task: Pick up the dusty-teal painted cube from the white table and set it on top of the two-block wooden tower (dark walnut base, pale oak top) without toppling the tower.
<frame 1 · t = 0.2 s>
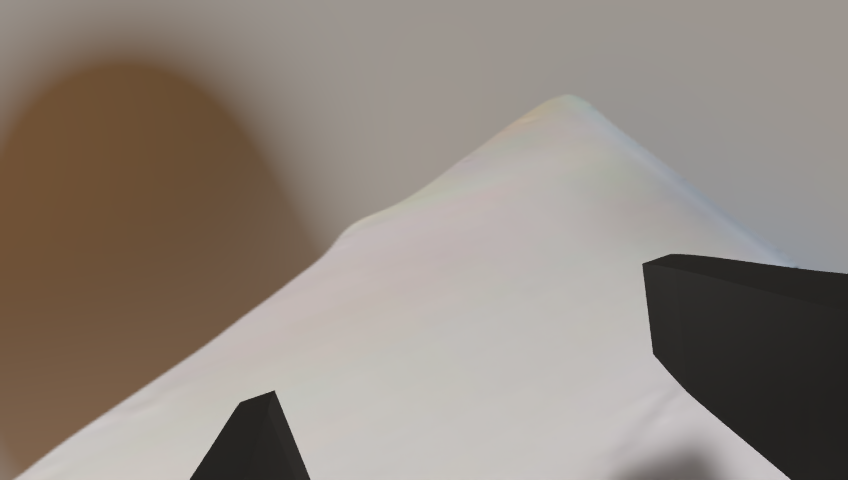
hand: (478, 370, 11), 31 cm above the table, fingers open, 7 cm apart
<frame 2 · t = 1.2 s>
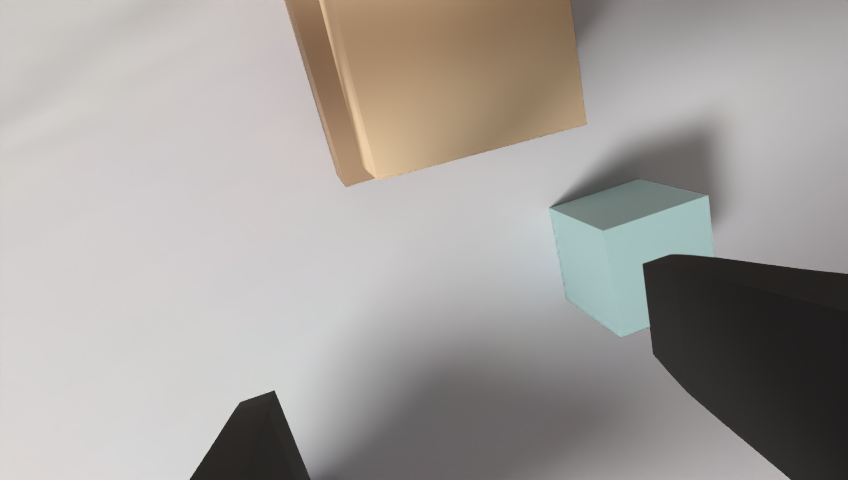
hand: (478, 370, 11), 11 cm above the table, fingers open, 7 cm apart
teal cube: (601, 239, 23), on the table
tower base: (403, 49, 20), on the table, touching tower top
tower top: (433, 43, 17), point 3 cm above the table, touching tower base
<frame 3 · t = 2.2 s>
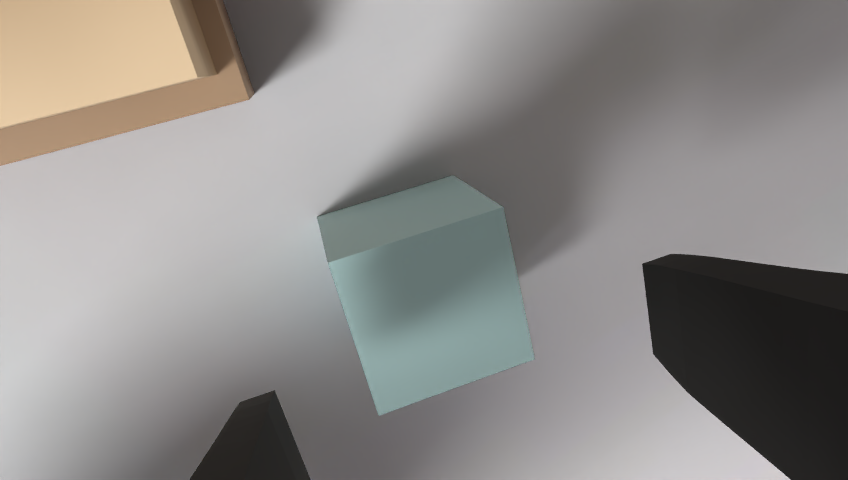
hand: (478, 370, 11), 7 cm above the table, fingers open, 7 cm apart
teal cube: (403, 259, 17), on the table
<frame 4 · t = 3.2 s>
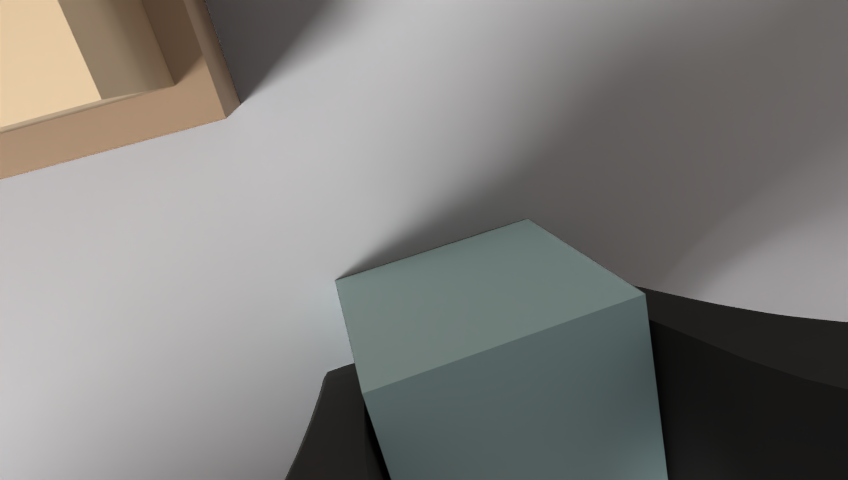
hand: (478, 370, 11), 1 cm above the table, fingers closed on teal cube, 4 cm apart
teal cube: (456, 335, 12), on the table, touching gripper
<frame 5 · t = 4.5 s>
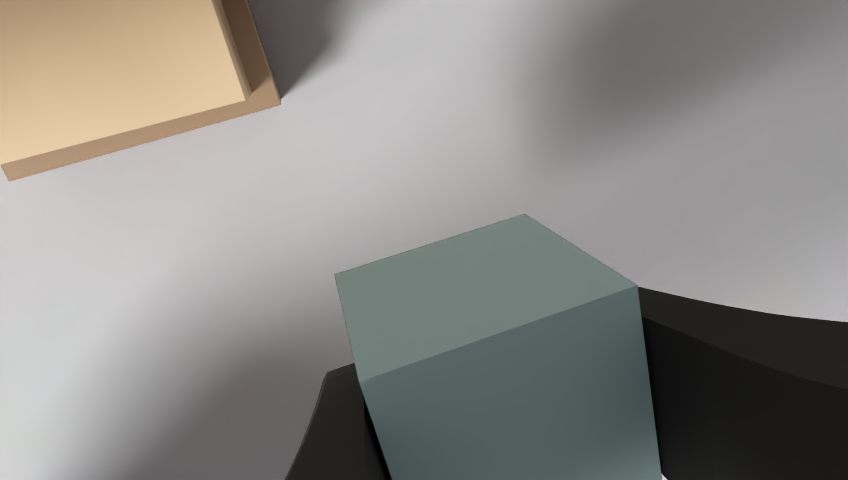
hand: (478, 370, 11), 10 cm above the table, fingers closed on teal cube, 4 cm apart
teal cube: (454, 329, 12), point 8 cm above the table, touching gripper
tower base: (121, 10, 16), on the table, touching tower top
when the fingers open (8 cm above the table, at t = 5.9 s): teal cube stays where it is, resting on tower top.
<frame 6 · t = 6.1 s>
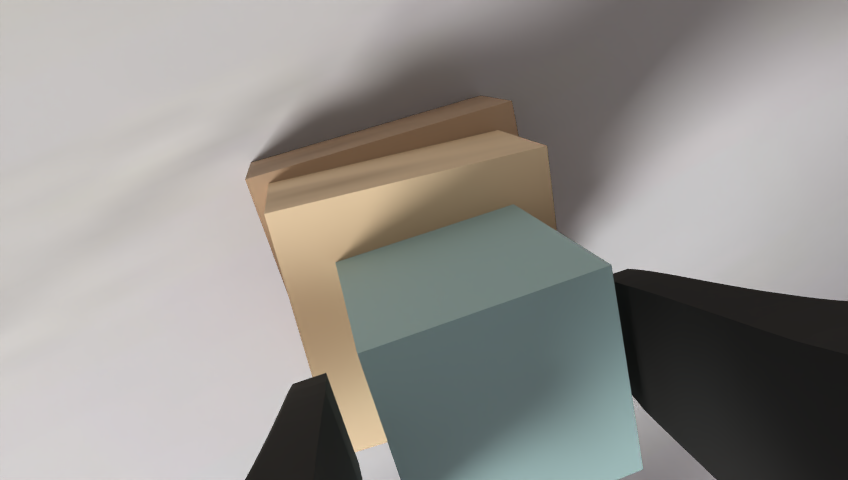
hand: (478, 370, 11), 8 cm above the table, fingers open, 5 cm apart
teal cube: (448, 314, 13), point 6 cm above the table, touching tower top
tower base: (397, 233, 18), on the table, touching tower top
tower top: (409, 263, 15), point 3 cm above the table, touching teal cube, tower base
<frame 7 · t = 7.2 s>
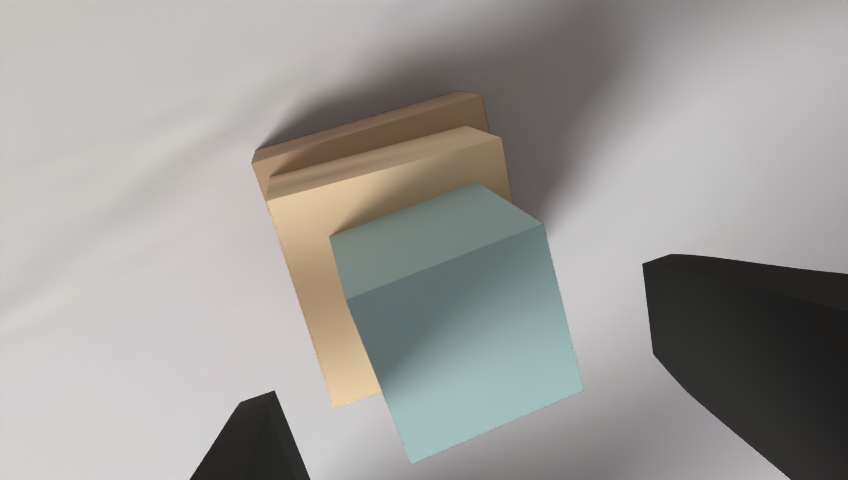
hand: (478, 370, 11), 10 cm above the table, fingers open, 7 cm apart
teal cube: (427, 277, 15), point 6 cm above the table, touching tower top
tower base: (385, 213, 21), on the table, touching tower top
tower top: (393, 244, 18), point 3 cm above the table, touching teal cube, tower base
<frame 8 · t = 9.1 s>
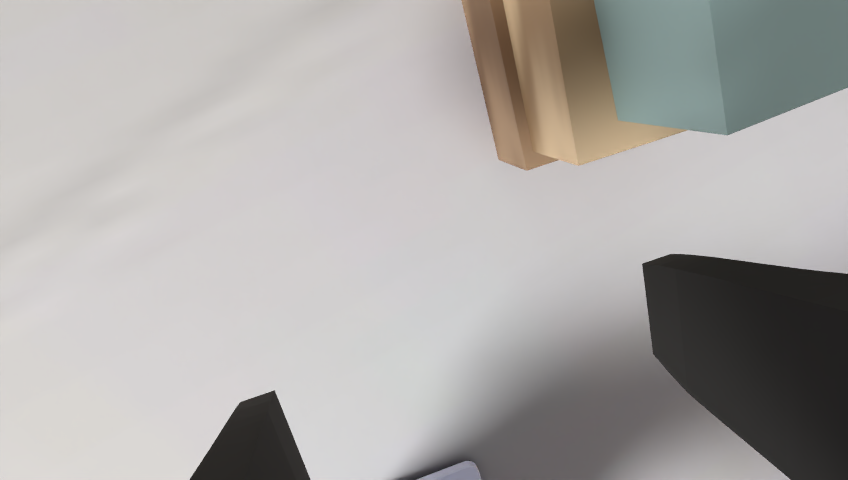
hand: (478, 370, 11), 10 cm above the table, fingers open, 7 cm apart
teal cube: (671, 19, 15), point 6 cm above the table, touching tower top
tower base: (562, 34, 20), on the table, touching tower top
tower top: (603, 29, 18), point 3 cm above the table, touching teal cube, tower base
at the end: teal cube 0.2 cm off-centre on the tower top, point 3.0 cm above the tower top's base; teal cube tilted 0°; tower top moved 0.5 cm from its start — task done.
